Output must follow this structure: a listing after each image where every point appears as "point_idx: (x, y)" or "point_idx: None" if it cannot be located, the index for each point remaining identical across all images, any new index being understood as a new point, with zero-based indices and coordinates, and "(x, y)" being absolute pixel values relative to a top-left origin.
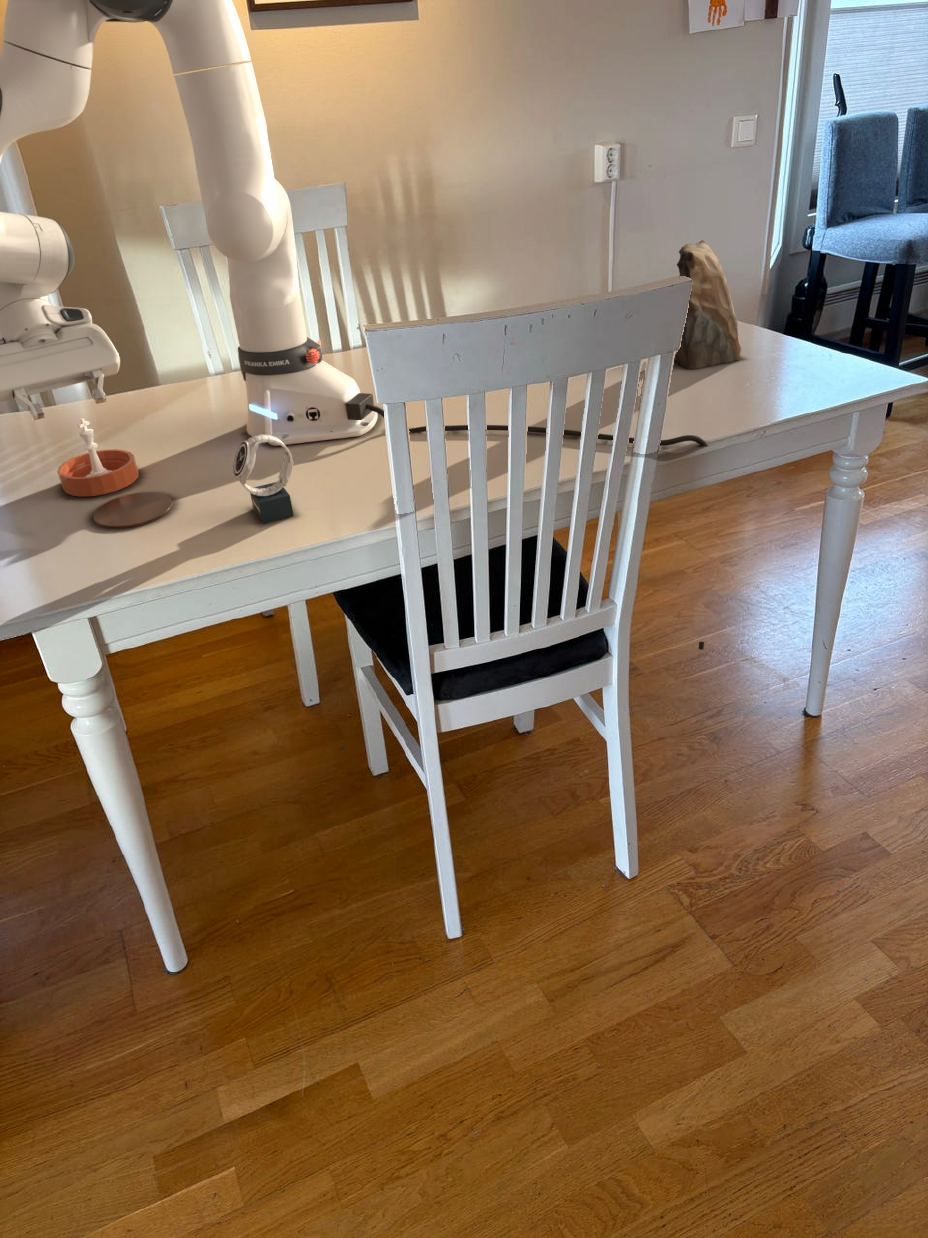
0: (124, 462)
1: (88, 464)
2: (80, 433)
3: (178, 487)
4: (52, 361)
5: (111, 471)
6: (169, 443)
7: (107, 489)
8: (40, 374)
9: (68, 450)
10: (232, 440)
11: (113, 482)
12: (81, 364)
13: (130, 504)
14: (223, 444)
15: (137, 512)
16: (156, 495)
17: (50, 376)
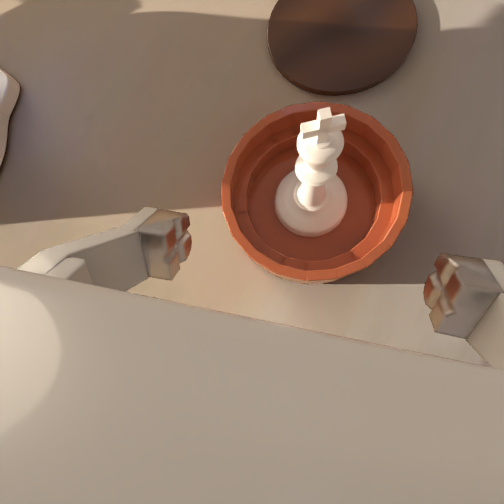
0: (243, 197)
1: (303, 261)
2: (342, 138)
3: (228, 62)
4: (231, 493)
5: (283, 193)
6: None
7: None
8: (439, 400)
9: None
10: (32, 178)
11: None
12: (47, 314)
13: (333, 44)
14: (53, 175)
15: (342, 6)
16: (279, 44)
17: (346, 347)
